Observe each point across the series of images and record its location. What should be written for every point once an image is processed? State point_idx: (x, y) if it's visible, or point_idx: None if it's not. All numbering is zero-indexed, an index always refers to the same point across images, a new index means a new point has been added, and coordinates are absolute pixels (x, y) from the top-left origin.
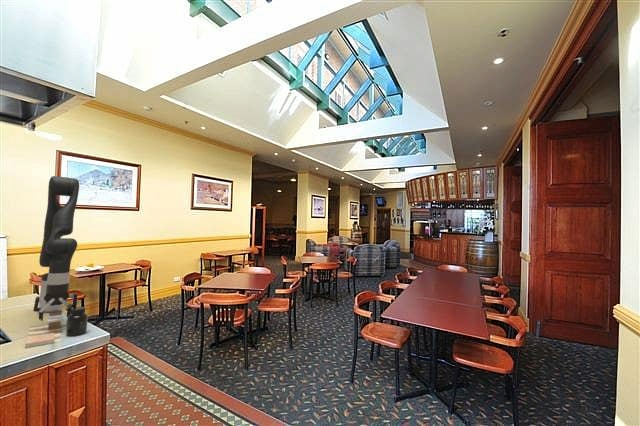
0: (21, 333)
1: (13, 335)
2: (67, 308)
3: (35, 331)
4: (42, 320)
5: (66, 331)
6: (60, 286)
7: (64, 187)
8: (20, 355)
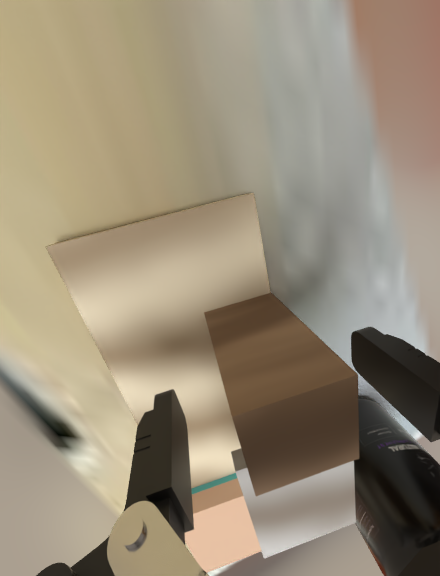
0: (52, 324)
1: (20, 352)
2: (436, 413)
3: (153, 376)
4: (183, 417)
5: None
6: None
7: None
8: None
